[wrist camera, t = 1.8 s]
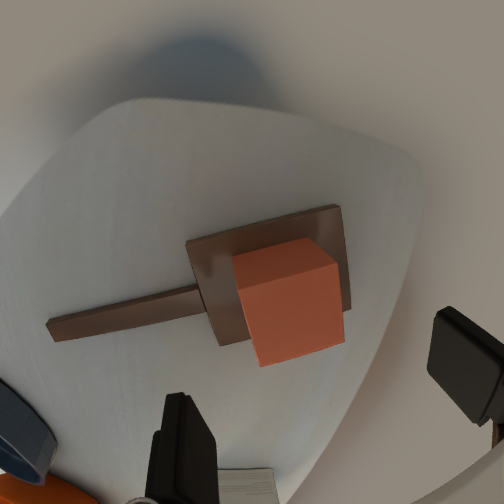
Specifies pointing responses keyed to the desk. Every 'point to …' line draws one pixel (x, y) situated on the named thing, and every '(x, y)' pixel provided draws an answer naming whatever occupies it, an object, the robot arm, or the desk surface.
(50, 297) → the desk surface
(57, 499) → the bowl
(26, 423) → the faceted gray tray
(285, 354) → the block
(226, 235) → the brown paddle
